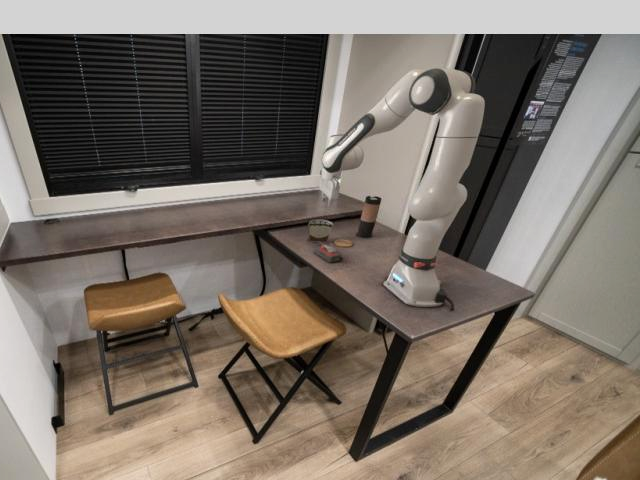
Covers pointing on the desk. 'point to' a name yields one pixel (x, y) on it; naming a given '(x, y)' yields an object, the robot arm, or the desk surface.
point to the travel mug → (369, 216)
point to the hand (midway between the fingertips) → (326, 204)
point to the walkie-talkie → (328, 253)
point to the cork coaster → (343, 243)
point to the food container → (319, 230)
